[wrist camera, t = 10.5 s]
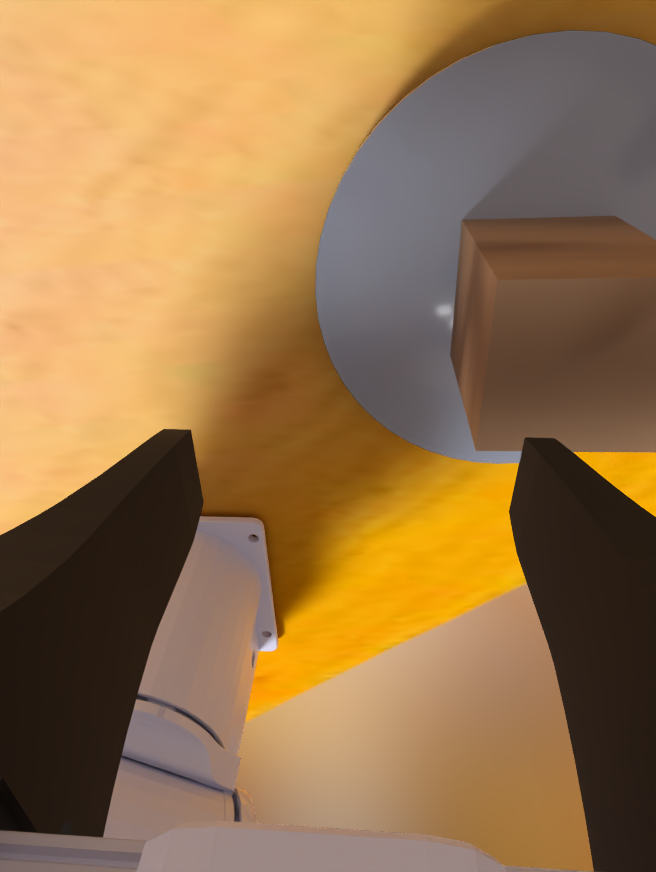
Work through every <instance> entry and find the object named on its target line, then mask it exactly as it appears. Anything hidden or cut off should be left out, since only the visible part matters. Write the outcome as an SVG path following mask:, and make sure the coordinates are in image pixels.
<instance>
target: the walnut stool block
mask: <svg viewBox="0 0 656 872" xmlns="http://www.w3.org/2000/svg"><path fill="white" fill-rule="evenodd" d="M450 357H451V360H452V364H453V368H454V372H455V375H456V379H457V383H458V387H459V390H460V394H461V398H462V401H463V405H464V409H465V413H466V416H467V420H468V424H469V428H470V431H471V435H472V439H473V442H474V446H475V450H476V451H522V448H523V443H524V439H525V437H531V438H555V439H556V440H558V441H559V442H560V443H562V444H563V445H564V446H566V447H567V448H568V449H569V450H571V451H572V452H656V240H655V239H653V238H652V237H650V236H648V235H647V234H645V233H643V232H642V231H640V230H638V229H637V228H635V227H633V226H632V225H630V224H628V223H627V222H625V221H623V220H622V219H620V218H618V217H617V216H586V217H548V218H509V219H471V220H462V224H461V235H460V247H459V259H458V270H457V282H456V293H455V305H454V316H453V328H452V339H451V351H450Z"/></svg>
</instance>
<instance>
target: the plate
mask: <svg viewBox="0 0 656 872" xmlns="http://www.w3.org/2000/svg"><path fill="white" fill-rule="evenodd" d="M586 216H617V217H618V218H620V219H622V220H623V221H625V222H627V223H628V224H630V225H632V226H633V227H635V228H637V229H638V230H640V231H642V232H643V233H645V234H647V235H648V236H650V237H652V238H653V239H655V240H656V45H654V44H651V43H649V42H646V41H644V40H641V39H638V38H634V37H629V36H624V35H619V34H614V33H609V32H600V31H574V30H569V31H560V32H552V33H543V34H535V35H530V36H525V37H521V38H518V39H514V40H510V41H507V42H503V43H499V44H495V45H492V46H489V47H487V48H484V49H482V50H480V51H477V52H475V53H473V54H470V55H468V56H465V57H463V58H461V59H458V60H457V61H455V62H453V63H452V64H450V65H448V66H447V67H445V68H443V69H442V70H440V71H438V72H437V73H435V74H433V75H432V76H430V77H428V78H427V79H426V80H425V81H423V82H422V83H421V84H419V85H418V86H417V87H416V88H414V89H413V90H412V91H411V92H409V93H408V94H407V95H405V96H404V97H403V98H402V99H401V100H400V101H399V102H398V103H397V104H396V105H395V106H394V107H393V108H392V109H391V110H390V111H389V112H388V113H387V114H386V115H385V116H384V117H383V118H382V119H381V120H380V121H379V122H378V123H377V125H376V126H375V127H374V128H373V130H372V131H371V132H370V134H369V135H368V136H367V138H366V139H365V140H364V141H363V143H362V144H361V145H360V147H359V148H358V150H357V151H356V153H355V155H354V157H353V158H352V160H351V162H350V163H349V165H348V167H347V168H346V170H345V172H344V174H343V176H342V178H341V180H340V183H339V185H338V187H337V189H336V192H335V194H334V196H333V199H332V201H331V204H330V207H329V210H328V213H327V217H326V220H325V224H324V227H323V231H322V234H321V238H320V243H319V250H318V256H317V263H316V287H315V295H316V304H317V313H318V320H319V324H320V328H321V332H322V336H323V340H324V344H325V346H326V349H327V351H328V354H329V356H330V359H331V361H332V364H333V366H334V367H335V369H336V371H337V373H338V374H339V376H340V378H341V380H342V381H343V383H344V385H345V386H346V388H347V389H348V390H349V391H350V393H351V394H352V395H353V397H354V398H355V399H356V401H357V402H358V403H359V404H360V405H361V406H362V407H363V408H364V409H365V410H366V411H367V412H368V413H369V414H370V415H371V416H372V417H373V418H374V419H375V420H377V421H378V422H379V423H380V424H382V425H383V426H384V427H386V428H387V429H388V430H390V431H391V432H393V433H394V434H396V435H398V436H399V437H401V438H403V439H405V440H406V441H408V442H410V443H412V444H414V445H416V446H419V447H421V448H423V449H426V450H428V451H430V452H434V453H437V454H440V455H444V456H447V457H450V458H455V459H461V460H466V461H472V462H482V463H497V464H499V463H519V462H520V458H521V453H522V451H476V450H475V446H474V442H473V439H472V435H471V431H470V428H469V424H468V420H467V416H466V413H465V409H464V405H463V401H462V398H461V394H460V390H459V387H458V383H457V379H456V375H455V372H454V368H453V364H452V360H451V357H450V351H451V339H452V328H453V316H454V305H455V293H456V282H457V270H458V259H459V247H460V235H461V224H462V220H471V219H509V218H548V217H586Z"/></svg>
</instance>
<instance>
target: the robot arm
mask: <svg viewBox="0 0 656 872" xmlns="http://www.w3.org/2000/svg"><path fill="white" fill-rule="evenodd" d="M202 507H203V497H202V491H201V485H200V480H199V474H198V468H197V462H196V457H195V451H194V445H193V439H192V434H191V430H178V429H163V430H162V431H160V432H159V433H157V434H156V435H154V436H153V437H151V438H150V439H149V440H147V441H146V442H144V443H143V444H142V445H140V446H139V447H138V448H136V449H135V450H134V451H132V452H131V453H130V454H128V455H127V456H126V457H124V458H123V459H122V460H120V461H119V462H117V463H116V464H115V465H113V466H112V467H111V468H109V469H108V470H107V471H105V472H104V473H102V474H101V475H100V476H98V477H97V478H95V479H94V480H92V481H91V482H89V483H88V484H86V485H85V486H83V487H82V488H80V489H79V490H77V491H76V492H74V493H73V494H71V495H70V496H68V497H67V498H65V499H64V500H62V501H61V502H59V503H58V504H56V505H54V506H53V507H51V508H49V509H48V510H46V511H44V512H43V513H41V514H39V515H37V516H36V517H34V518H32V519H30V520H28V521H26V522H25V523H23V524H21V525H19V526H17V527H16V528H14V529H12V530H10V531H8V532H6V533H4V534H2V535H0V872H591V871H576V870H561V869H546V868H533V867H518V866H504V865H502V864H501V863H500V862H499V861H497V860H496V859H495V858H494V857H492V856H490V855H489V854H487V853H485V852H483V851H482V850H480V849H478V848H477V847H475V846H473V845H471V844H470V843H468V842H463V841H458V840H452V839H447V838H442V837H437V836H432V835H427V834H413V833H399V832H384V831H369V830H354V829H338V828H324V827H308V826H294V825H279V824H264V823H258V821H257V818H256V815H255V809H254V805H253V802H252V799H251V797H250V795H249V794H248V793H247V792H246V791H245V790H243V789H240V788H237V787H235V785H236V779H237V774H238V769H239V764H240V759H241V758H240V757H239V756H238V755H237V754H238V751H239V748H240V743H241V738H242V733H243V728H244V723H245V718H246V713H247V708H248V703H249V698H250V693H251V688H252V683H253V678H254V673H255V668H256V663H257V658H258V653H259V651H273V650H276V648H277V646H278V634H277V626H276V618H275V610H274V602H273V594H272V586H271V578H270V570H269V562H268V554H267V546H266V537H265V529H264V524H263V522H262V521H261V520H259V519H257V518H250V517H207V516H200V515H201V511H202ZM509 514H510V520H511V525H512V531H513V536H514V541H515V546H516V551H517V555H518V558H519V561H520V564H521V567H522V570H523V573H524V576H525V579H526V582H527V585H528V587H529V590H530V593H531V596H532V599H533V602H534V605H535V607H536V610H537V613H538V616H539V619H540V622H541V625H542V628H543V630H544V634H545V636H546V639H547V642H548V645H549V649H550V652H551V655H552V659H553V662H554V666H555V670H556V675H557V679H558V683H559V687H560V692H561V696H562V701H563V705H564V709H565V715H566V719H567V723H568V729H569V733H570V739H571V743H572V748H573V753H574V758H575V763H576V769H577V774H578V779H579V785H580V791H581V796H582V802H583V807H584V812H585V818H586V824H587V830H588V837H589V843H590V849H591V855H592V861H593V868H594V872H656V517H655V516H653V515H652V514H650V513H649V512H648V511H646V510H645V509H643V508H642V507H641V506H639V505H638V504H637V503H635V502H634V501H633V500H631V499H630V498H629V497H627V496H626V495H625V494H623V493H622V492H621V491H620V490H618V489H617V488H616V487H615V486H613V485H612V484H611V483H610V482H608V481H607V480H606V479H605V478H603V477H602V476H601V475H600V474H598V473H597V472H596V471H595V470H594V469H592V468H591V467H590V466H589V465H588V464H586V463H585V462H584V461H583V460H581V459H580V458H579V457H578V456H577V455H575V454H574V453H573V452H572V451H571V450H569V449H568V448H567V447H566V446H564V445H563V444H562V443H560V442H559V441H558V440H556V439H555V438H531V437H525V439H524V443H523V448H522V453H521V458H520V462H519V467H518V472H517V477H516V481H515V486H514V491H513V496H512V501H511V505H510V510H509ZM252 534H253V535H256V536H258V537H253V536H251V535H252Z"/></svg>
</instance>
